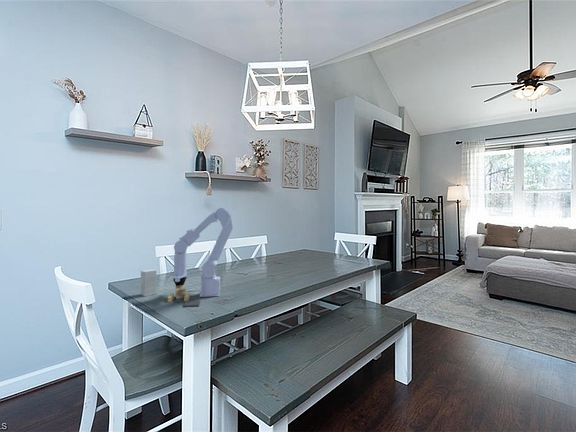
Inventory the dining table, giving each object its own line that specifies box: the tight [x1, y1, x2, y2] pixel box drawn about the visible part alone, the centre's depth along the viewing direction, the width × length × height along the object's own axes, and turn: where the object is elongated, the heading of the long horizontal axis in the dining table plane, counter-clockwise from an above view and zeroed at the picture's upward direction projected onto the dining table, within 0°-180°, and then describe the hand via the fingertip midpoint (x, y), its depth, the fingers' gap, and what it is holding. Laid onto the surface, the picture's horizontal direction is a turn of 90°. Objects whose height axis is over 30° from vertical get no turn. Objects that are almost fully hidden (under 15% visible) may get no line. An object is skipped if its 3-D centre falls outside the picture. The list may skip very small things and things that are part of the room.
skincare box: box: [140, 268, 158, 297], centre depth 145 cm, size 6×4×12 cm
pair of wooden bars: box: [167, 292, 191, 303], centre depth 138 cm, size 9×6×2 cm
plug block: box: [174, 284, 187, 300], centre depth 140 cm, size 4×4×5 cm
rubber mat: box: [183, 299, 201, 308], centre depth 132 cm, size 6×6×1 cm
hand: (179, 292), depth 143 cm, fingers closed, pressing on plug block
